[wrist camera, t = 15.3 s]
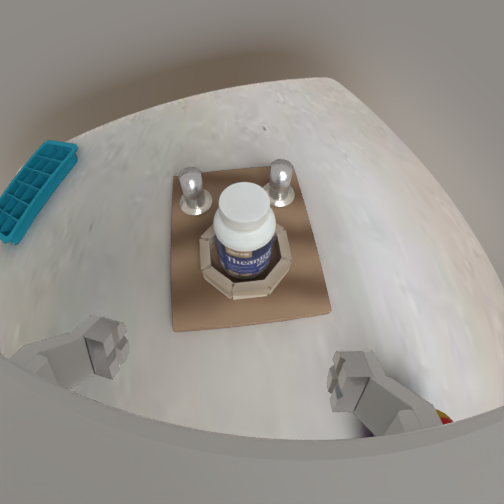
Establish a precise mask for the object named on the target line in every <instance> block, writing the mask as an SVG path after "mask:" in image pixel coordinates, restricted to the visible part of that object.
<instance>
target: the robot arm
mask: <svg viewBox="0 0 504 504" xmlns="http://www.w3.org/2000/svg"><path fill="white" fill-rule="evenodd" d="M126 332H127V331H126V325H125V324H124V323H123V322H119V321H115V320H112V319H108V318H104V317H100V316H97V315H90V316H89V317H88V318H87V319H86V320H85V321H84V322H83V323H82V324H81V325H80V326H79V327H78V328H77V329H75V330H74V331H73V332H72V333H65V334H62V335H59V336H55V337H52V338H49V339H45V340H42V341H38V342H35V343H32V344H28V345H25V346H23V347H22V348H21V349H20V350H19V351H18V352H17V353H15V354H14V355H13V356H12V357H11V358H10V359H8V358H6V357H5V356H3V355H1V354H0V504H504V406H501V407H499V408H496V409H494V410H491V411H488V412H485V413H482V414H479V415H476V416H473V417H470V418H466V419H463V420H459V421H456V422H452V423H448V424H444V425H443V424H442V422H441V420H440V418H439V416H438V414H437V412H436V410H435V408H434V406H433V405H432V404H431V403H429V402H427V401H426V400H424V399H423V398H421V397H420V396H418V395H417V394H415V393H414V392H412V391H411V390H409V389H408V388H406V387H405V386H403V385H402V384H400V383H399V382H397V381H396V380H394V379H393V378H391V377H386V375H385V373H384V371H383V368H382V366H381V364H380V362H379V360H378V358H377V356H376V354H375V352H374V351H336V352H335V354H334V357H333V362H334V365H333V366H332V367H331V368H330V370H329V373H328V378H327V388H328V392H330V393H331V394H332V395H331V398H330V403H331V408H332V412H354V414H355V415H356V416H357V417H358V418H359V419H360V420H361V422H362V423H363V424H364V425H365V426H366V427H367V428H368V429H369V430H370V431H371V432H372V433H373V434H374V435H375V437H365V438H353V439H336V440H287V439H269V438H256V437H246V436H238V435H230V434H223V433H216V432H210V431H204V430H198V429H193V428H188V427H183V426H179V425H174V424H170V423H166V422H162V421H158V420H154V419H150V418H146V417H143V416H139V415H136V414H133V413H129V412H126V411H123V410H120V409H117V408H114V407H111V406H108V405H105V404H102V403H100V402H97V401H94V400H92V399H89V398H87V397H84V396H82V395H79V394H77V393H75V392H72V391H70V390H68V389H70V388H72V387H74V386H76V385H78V384H79V383H81V382H83V381H85V380H87V379H89V378H90V377H92V376H94V375H95V374H96V375H99V376H102V377H106V378H109V379H113V378H114V377H115V375H116V374H117V372H118V371H119V364H122V363H124V362H125V360H126V359H127V356H128V353H129V343H128V340H127V339H126V337H125V336H124V335H125V334H126Z"/></svg>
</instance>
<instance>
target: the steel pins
mask: <svg viewBox="0 0 504 504" xmlns="http://www.w3.org/2000/svg"><path fill="white" fill-rule="evenodd" d="M292 171H293V165H292V164H291V163H290V162H289V161H287V160H284V159H278V160H275V161H273V162H272V164H271V172H270V182H269V183H267V184H266V185H265V186H264V187H263V189H264V190H265V191H266V192H267V194H268V196H269V198H270V206H271V207H274V208H284V207H287V206H289V205H290V204H291V203H292V202H293V200H294V196H295V193H294V190H293V188H292V187H291V186H290V182H291V177H292ZM179 180H180V184H181V187H182V191H183V195H182V197H181V199H180V203H179V204H180V208H181V210H182V212H183V213H184V214H186V215H188V216H192V217H196V216H201V215H203V214H205V213H207V212H208V211H209V210H210V208H211V207H212V203H213V201H212V196H211V194H210V193H209V192H208V191H207V190H204V188H203V183H202V177H201V172H200V170H199V169H197V168H194V167H189V168H186V169H184V170H182V171H181V172H180V174H179Z"/></svg>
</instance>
